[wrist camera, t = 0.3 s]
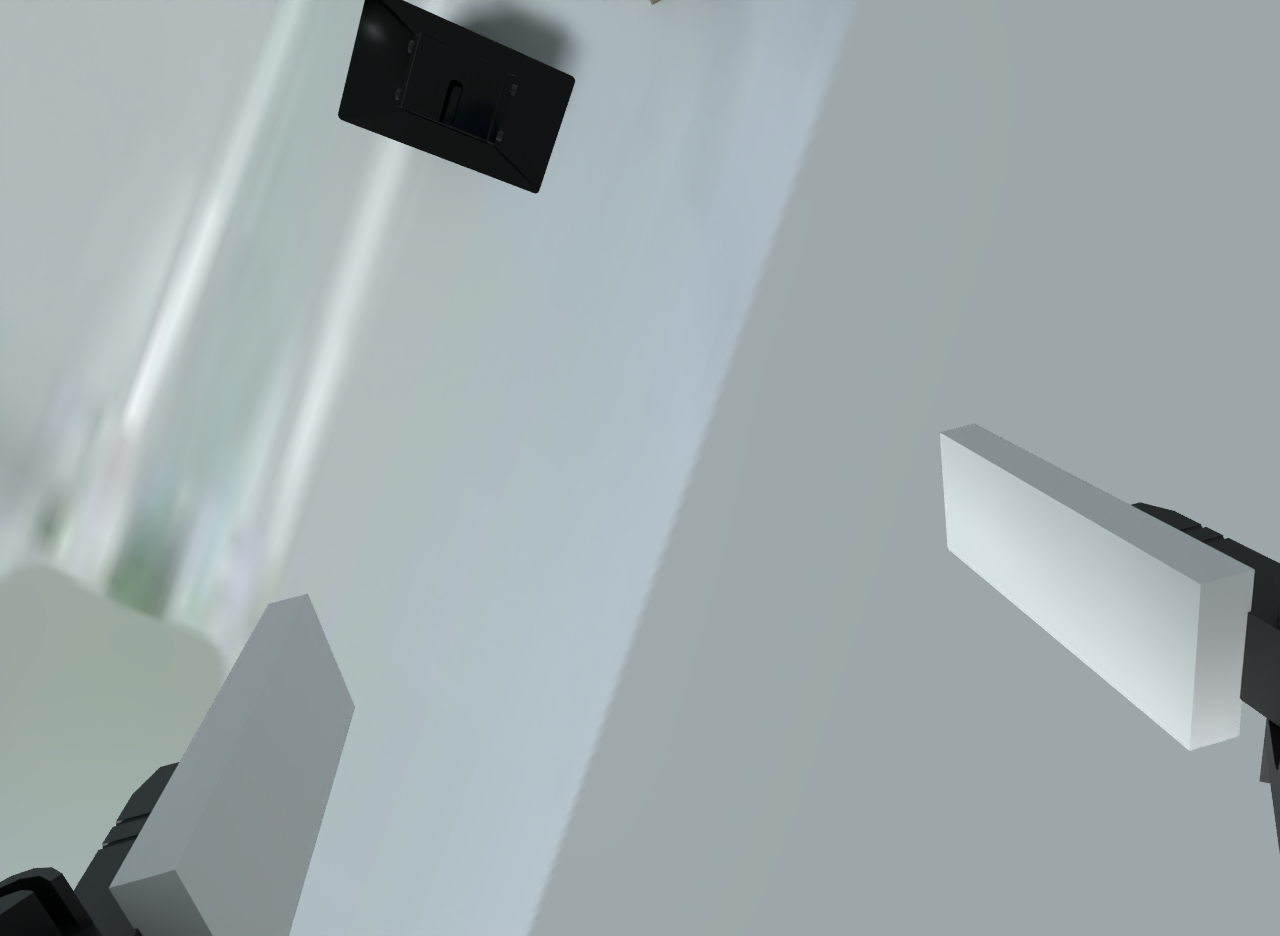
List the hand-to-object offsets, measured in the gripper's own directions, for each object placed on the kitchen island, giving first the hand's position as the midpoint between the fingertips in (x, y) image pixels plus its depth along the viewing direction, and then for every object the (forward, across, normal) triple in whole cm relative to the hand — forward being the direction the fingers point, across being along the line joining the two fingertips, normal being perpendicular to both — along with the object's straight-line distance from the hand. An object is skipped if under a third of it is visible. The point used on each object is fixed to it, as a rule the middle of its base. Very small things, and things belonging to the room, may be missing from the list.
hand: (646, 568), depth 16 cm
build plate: (+27, -2, +12) cm, 29 cm away
